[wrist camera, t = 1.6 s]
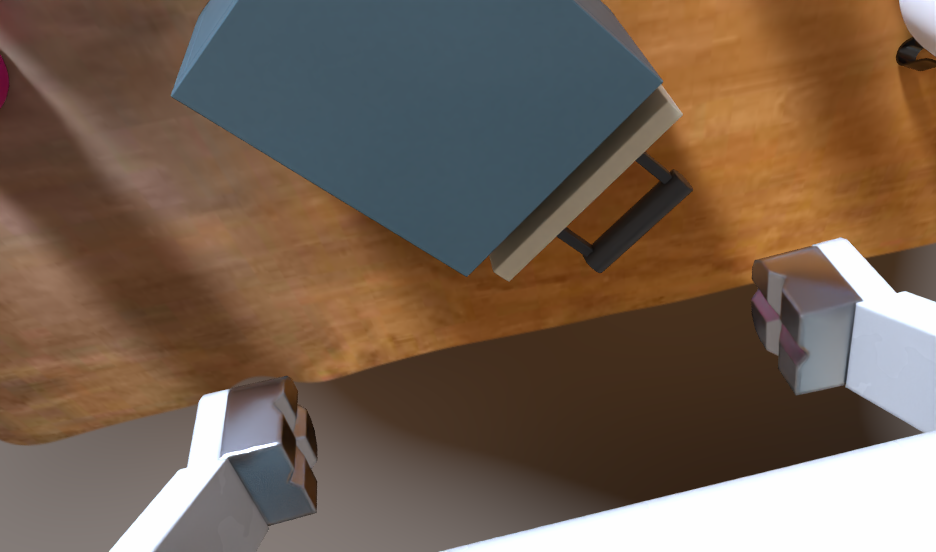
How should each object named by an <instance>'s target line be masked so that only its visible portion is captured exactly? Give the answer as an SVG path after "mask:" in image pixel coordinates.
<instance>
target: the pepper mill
mask: <svg viewBox="0 0 936 552" xmlns="http://www.w3.org/2000/svg"><path fill="white" fill-rule="evenodd" d="M8 88H9V76H8V72H7V68H6V65H5V63H4V61H3V59H2V56H1V55H0V108H1V107H2V105H3V103H4V102H5V100H6V97H7V93H8Z"/></svg>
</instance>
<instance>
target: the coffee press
mask: <svg viewBox="0 0 936 552" xmlns="http://www.w3.org/2000/svg"><path fill="white" fill-rule="evenodd" d="M899 4H900V10H901V13H902V17H903V20H904V22H905V24H906V26H907V28H908V30H909V32H910V33H911V35H912V36H913V37H912V38H910V39H908V40H906V41H905V42H904V43H903V44H902V45H901V46H900V47H899V49H898V51H897V55H896V61H897V63H898V64H899V65H901V66H904V67H907V68H911V69H914V70H917V71H924V70H927V69H931V68H935V67H936V60H933V59H929V58H924V59H919V60H916V57H917V55H918V53H919V52H920V51H921V50H922V49H923V48H925V49H926V50H928V51H929V52H930V53H931V54H933V55H934V56H936V0H899Z"/></svg>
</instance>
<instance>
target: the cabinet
mask: <svg viewBox="0 0 936 552" xmlns="http://www.w3.org/2000/svg"><path fill="white" fill-rule="evenodd" d="M662 83H663V80H662V79H661V78H660V76H659V75H658V74H657V72H656V71H655V70H654V68H653V67H652V66H651V64H650V63H649V62H648V60H647V59H646V58H645V56H644V55H643V53H642V52H641V51H640V49H639V48H638V47H637V45H636V44H635V43H634V41H633V40H632V39H631V37H630V36H629V35H628V33H627V32H626V31H625V29H624V28H623V27H622V25H621V24H620V23H619V21H618V20H617V19H616V17H615V16H614V15H613V13H612V12H611V10H610V9H609V8H608V7H607V6H606V5H605V4H603V3H602V2H601V1H600V0H210V1H209V2H208V3H207V5H206V6H205V8H204V9H203V11H202V12H201V14H200V15H199V17H198V20H197V23H196V25H195V28H194V31H193V34H192V37H191V40H190V42H189V45H188V48H187V51H186V54H185V57H184V59H183V62H182V65H181V68H180V71H179V74H178V76H177V79H176V82H175V85H174V88H173V91H172V94H171V97H173V98H174V99H176V100H177V101H179V102H181V103H182V104H184V105H186V106H187V107H189V108H191V109H192V110H194V111H196V112H197V113H199V114H200V115H202V116H204V117H205V118H207V119H209V120H210V121H212V122H214V123H215V124H217V125H218V126H220V127H222V128H223V129H225V130H227V131H228V132H230V133H232V134H233V135H235V136H236V137H238V138H240V139H241V140H243V141H245V142H246V143H248V144H250V145H251V146H253V147H254V148H256V149H258V150H259V151H261V152H263V153H264V154H266V155H268V156H269V157H271V158H273V159H274V160H276V161H277V162H279V163H281V164H282V165H284V166H286V167H287V168H289V169H291V170H292V171H294V172H295V173H297V174H299V175H300V176H302V177H304V178H305V179H307V180H309V181H310V182H312V183H313V184H315V185H317V186H318V187H320V188H322V189H323V190H325V191H327V192H328V193H330V194H332V195H333V196H335V197H336V198H338V199H340V200H341V201H343V202H345V203H346V204H348V205H350V206H351V207H353V208H354V209H356V210H358V211H359V212H361V213H363V214H364V215H366V216H368V217H369V218H371V219H372V220H374V221H376V222H377V223H379V224H381V225H382V226H384V227H386V228H387V229H389V230H390V231H392V232H394V233H395V234H397V235H399V236H400V237H402V238H404V239H405V240H407V241H409V242H410V243H412V244H413V245H415V246H417V247H418V248H420V249H422V250H423V251H425V252H427V253H428V254H430V255H431V256H433V257H435V258H436V259H438V260H440V261H441V262H443V263H445V264H446V265H448V266H449V267H451V268H453V269H454V270H456V271H458V272H459V273H461V274H463V275H464V276H466V277H467V276H468V275H469V274H470V273H471V272H472V271H473V270H474V269H475V268H476V267H478V266H479V265H480V264H481V263H482V262H483V261H484V260H485V259H486V258H487V257H488V256H489V255H490V254H491V253H492V252H493V251H494V250H495V249H496V248H497V247H498V246H499V245H500V244H501V243H502V242H503V241H504V240H505V239H506V238H507V237H508V236H509V235H510V234H511V233H512V232H513V231H514V230H515V229H516V228H517V227H518V226H519V225H520V224H521V223H522V222H523V221H524V220H525V219H526V218H527V217H528V216H529V215H530V214H531V213H532V212H533V211H534V210H535V209H536V208H537V207H538V206H539V205H540V204H541V203H542V202H543V201H544V200H545V199H546V198H547V197H548V196H549V195H550V194H551V193H552V192H553V191H554V190H555V189H556V188H557V187H558V186H559V185H560V184H561V183H562V182H563V181H564V180H565V179H566V178H567V177H568V176H569V175H570V174H571V173H572V172H573V171H574V170H575V169H576V168H577V167H578V166H579V165H580V164H581V163H582V162H583V161H584V160H585V159H586V158H587V157H588V156H589V155H590V154H591V153H592V152H593V151H594V150H595V149H596V148H597V147H598V146H599V145H600V144H601V143H602V142H603V141H604V140H605V139H606V138H607V137H609V136H610V135H611V134H612V133H613V132H614V131H615V130H616V129H617V128H618V127H619V126H620V125H621V124H622V123H623V122H624V121H625V120H626V119H627V118H628V117H629V116H630V115H631V114H632V113H633V112H634V111H635V110H636V109H637V108H638V107H639V106H640V105H641V104H642V103H643V102H644V101H645V100H646V99H647V98H648V97H649V96H650V95H651V94H652V93H653V92H654V91H655V90H656V89H657V88H658V87H659V86H660V85H661V84H662Z"/></svg>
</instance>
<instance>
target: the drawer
mask: <svg viewBox="0 0 936 552" xmlns="http://www.w3.org/2000/svg"><path fill="white" fill-rule="evenodd" d="M682 115H683V114H682V112H681V111H680V109H679V108H678V107H677V105H676V104H675V103H674V101H673V100H672V98H671V97H670V96H669V94H668V93H667V92H666V90H665V89H664V88H663V86H662V85H660V86H659V87H658V88H657V89H656V90H655V91H654V92H653V93H652V94H651V95H650V96H649V97H648V98H647V99H646V100H645V101H644V102H643V103H642V104H641V105H640V106H639V107H638V108H637V109H636V110H635V111H634V112H633V113H632V114H631V115H630V116H629V117H628V118H627V119H626V120H625V121H624V122H623V123H622V124H621V125H620V126H619V127H618V128H617V129H616V130H615V131H614V132H613V133H612V134H611V135H610V136H609V137H607V138H606V139H605V140H604V141H603V142H602V143H601V144H600V145H599V146H598V147H597V148H596V149H595V150H594V151H593V152H592V153H591V154H590V155H589V156H588V157H587V158H586V159H585V160H584V161H583V162H582V163H581V164H580V165H579V166H578V167H577V168H576V169H575V170H574V171H573V172H572V173H571V174H570V175H569V176H568V177H567V178H566V179H565V180H564V181H563V182H562V183H561V184H560V185H559V186H558V187H557V188H556V189H555V190H554V191H553V192H552V193H551V194H550V195H549V196H548V197H547V198H546V199H545V200H544V201H543V202H542V203H541V204H540V205H539V206H538V207H537V208H536V209H535V210H534V211H533V212H532V213H531V214H530V215H529V216H528V217H527V218H526V219H525V220H524V221H523V222H522V223H521V224H520V225H519V226H518V227H517V228H516V229H515V230H514V231H513V232H512V233H511V234H510V235H509V236H508V237H507V238H506V239H505V240H504V241H503V242H502V243H501V244H500V245H499V246H498V247H497V248H496V249H495V250H494V251H493V252H492V253H491V254H490V255H489V256H490V260H491V264H492V268H493V272H494V273H496V274H497V275H499V276H500V277H502V278H504V279H505V280H507V281H510V280H511V279H512V278H513V277H514V276H515V275H516V274H518V273H519V272H520V271H521V270H522V269H523V268H524V267H525V266H526V265H527V264H528V263H529V262H530V261H531V260H532V259H533V258H534V257H535V256H536V255H537V254H538V253H539V252H540V251H541V250H543V249H544V248H545V247H546V246H547V245H548V244H549V243H550V242H551V241H552V240H553V239H554V238H555V237H556V236H557V237H558V238H560V239H561V240H563V241H564V242H565V243H567V244H568V245H570V246H571V247H573V248H574V249H576V250H577V251H578V252H580V253H581V254H583V257H584V259H585V261H586V262H587V263H588V265H589V266H590V267H591V268H592V269H594V270H595V271H596V272H598V273H602V272H603V271H605V270H606V269H607V268H608V267H609V266H610V265H611V264H612V263H613V262H614V261H616V260H617V259H618V258H619V257H620V256H621V255H622V254H623V253H624V252H626V251H627V250H628V249H629V248H630V247H631V246H632V245H633V244H634V243H636V242H637V241H638V240H639V239H640V238H641V237H642V236H643V235H644V234H645V233H647V232H648V231H649V230H650V229H651V228H652V227H653V226H654V225H655V224H657V223H658V222H659V221H660V220H661V219H662V218H663V217H664V216H665V215H666V214H668V213H669V212H670V211H671V210H672V209H673V208H674V207H675V206H676V205H678V204H679V203H680V202H681V201H682V200H683V199H684V198H685V197H686V196H687V195H689V194H690V193H691V192H692V191H693V188H692V186H691V185H690V183H689V182H688V181H687V180H686V179H685V178H684V177H683V176H682V175H681V174H680V173H679V172H678V171H676V170H674V169H673V170H671V171H670V172H669V171H668V170H667V169H666V168H664V167H663V166H662V165H661V164H660V163H658V162H657V161H656V160H655V159H654V158H652V157H651V156H650V155H649V154H648V153H646V152H645V151H646V150H647V149H648V148H649V147H650V146H651V145H652V144H653V143H654V142H655V141H656V140H657V139H658V138H659V137H660V136H661V135H662V134H664V133H665V132H666V131H667V130H668V129H669V128H670V127H671V126H672V125H673V124H674V123H675V122H676V121H677V120H678V119H679V118H680V117H681V116H682ZM634 161H636V162H638V163H639V164H640V165H641V166H642V167H644V168H645V169H646V170H647V171H649V172H650V173H651V174H652V175H654V176H655V177H656V178H657V179H659V180H660V181H659V182H658V183H657V184H656V185H655V186H654V187H653V188H652V189H651V190H650V191H649V192H648V193H647V194H646V195H644V196H643V197H642V198H641V199H640V200H639V201H638V202H637V203H636V204H635V205H634V206H633V207H632V208H630V209H629V210H628V211H627V212H626V213H625V214H624V215H623V216H622V217H621V218H620V219H619V220H618V221H616V222H615V223H614V224H613V225H612V226H611V227H610V228H609V229H608V230H607V231H606V232H605V233H604V234H602V235H601V236H600V237H599V238H598V239H597V240H596V241H595V242H594V243H593V244H592V245H591V244H590V243H588V242H587V241H585V240H584V239H582V238H581V237H580V236H578V235H577V234H575V233H574V232H573V231H571V230H570V229H568V228H567V226H568V225H569V224H570V223H571V222H572V221H573V220H574V219H575V218H576V217H577V216H578V215H579V214H580V213H581V212H582V211H583V210H584V209H585V208H586V207H587V206H588V205H589V204H591V203H592V202H593V201H594V200H595V199H596V198H597V197H598V196H599V195H600V194H601V193H602V192H603V191H604V190H605V189H606V188H607V187H608V186H609V185H610V184H611V183H612V182H613V181H615V180H616V179H617V178H618V177H619V176H620V175H621V174H622V173H623V172H624V171H625V170H626V169H627V168H628V167H629V166H630V165H631V164H632V163H633V162H634Z"/></svg>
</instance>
